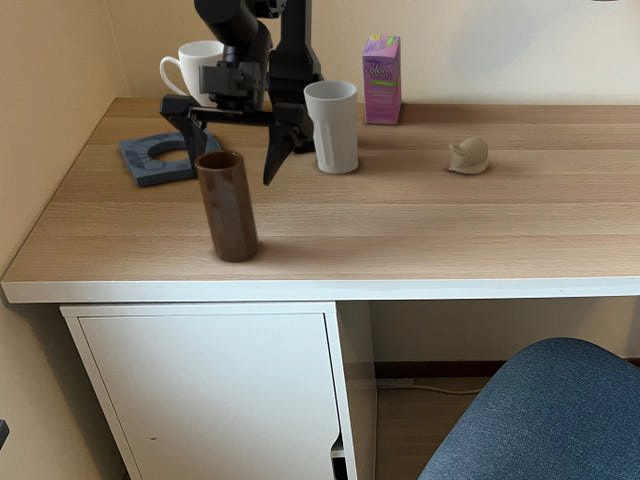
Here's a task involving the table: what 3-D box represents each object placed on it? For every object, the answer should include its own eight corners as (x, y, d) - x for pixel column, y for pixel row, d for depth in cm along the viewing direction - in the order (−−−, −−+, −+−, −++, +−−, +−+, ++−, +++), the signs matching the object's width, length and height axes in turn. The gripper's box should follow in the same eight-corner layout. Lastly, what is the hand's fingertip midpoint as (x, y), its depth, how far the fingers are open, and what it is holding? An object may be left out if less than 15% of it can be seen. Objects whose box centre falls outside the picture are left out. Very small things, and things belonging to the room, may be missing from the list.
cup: (371, 158, 127) (366, 84, 119) (349, 179, 121) (342, 103, 113) (327, 150, 128) (319, 77, 120) (304, 171, 123) (294, 95, 115)
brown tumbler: (252, 235, 108) (235, 146, 99) (265, 256, 104) (249, 165, 95) (210, 245, 106) (189, 155, 97) (222, 266, 102) (201, 174, 93)
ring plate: (207, 134, 131) (206, 125, 130) (232, 169, 122) (230, 160, 121) (118, 150, 126) (116, 141, 125) (137, 188, 117) (134, 178, 116)
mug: (243, 106, 141) (232, 40, 133) (238, 124, 135) (225, 57, 127) (175, 106, 140) (160, 40, 132) (166, 125, 133) (149, 57, 126)
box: (397, 125, 137) (395, 56, 129) (365, 124, 137) (360, 54, 129) (402, 102, 145) (400, 35, 137) (372, 101, 144) (368, 34, 136)
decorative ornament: (495, 167, 126) (497, 135, 123) (455, 181, 122) (455, 149, 118) (479, 158, 128) (481, 127, 125) (439, 171, 124) (439, 139, 121)
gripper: (146, 27, 94) (130, 153, 93) (297, 38, 93) (282, 165, 92) (185, 71, 105) (171, 184, 104) (320, 81, 104) (307, 195, 103)
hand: (230, 182), depth 100 cm, fingers open, 9 cm apart
